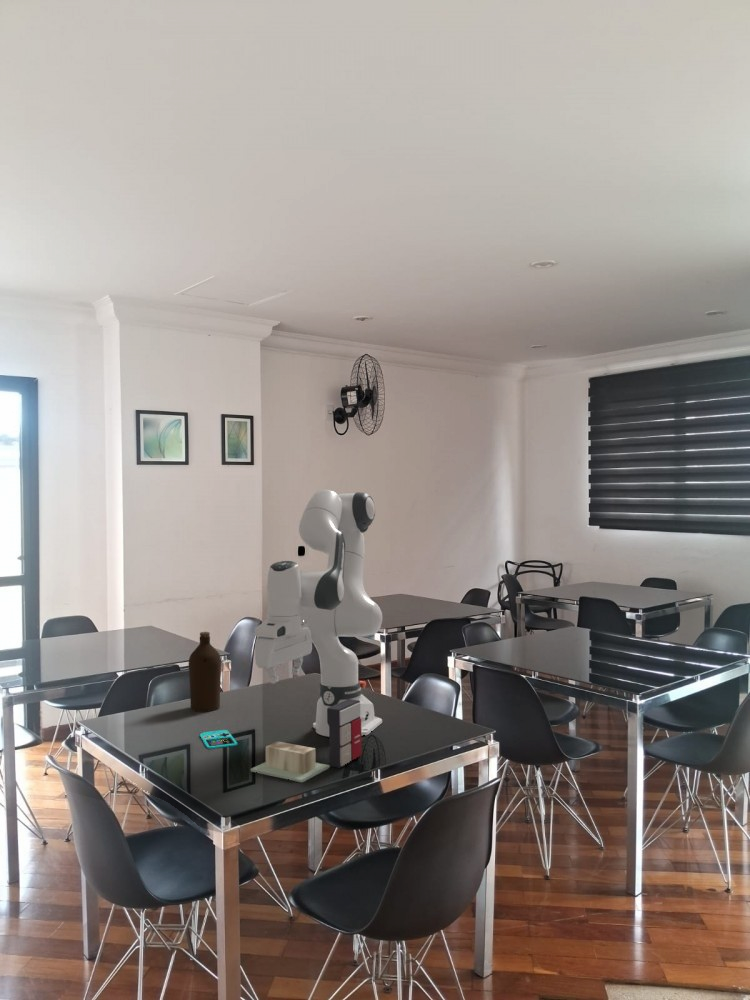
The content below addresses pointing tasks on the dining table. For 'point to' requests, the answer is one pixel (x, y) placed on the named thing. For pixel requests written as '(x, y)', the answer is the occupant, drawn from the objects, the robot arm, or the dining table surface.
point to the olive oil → (205, 676)
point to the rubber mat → (289, 772)
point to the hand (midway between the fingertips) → (285, 678)
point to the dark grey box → (344, 732)
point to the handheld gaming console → (217, 738)
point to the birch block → (290, 757)
